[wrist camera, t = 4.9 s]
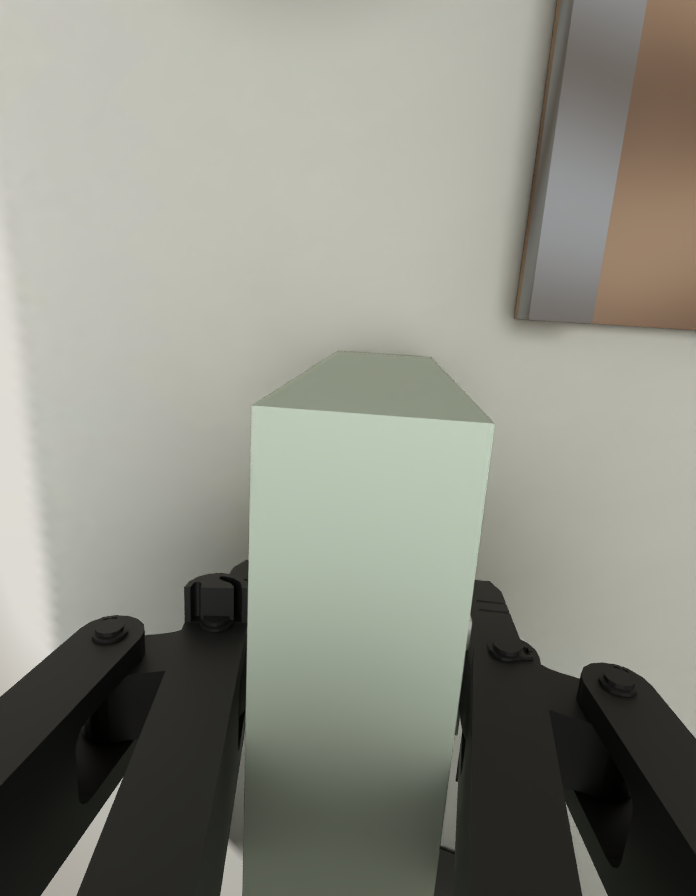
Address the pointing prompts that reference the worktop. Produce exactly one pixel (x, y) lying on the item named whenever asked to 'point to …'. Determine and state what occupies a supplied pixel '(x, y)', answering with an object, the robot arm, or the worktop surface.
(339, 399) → the door panel
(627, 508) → the worktop surface
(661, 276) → the track base
